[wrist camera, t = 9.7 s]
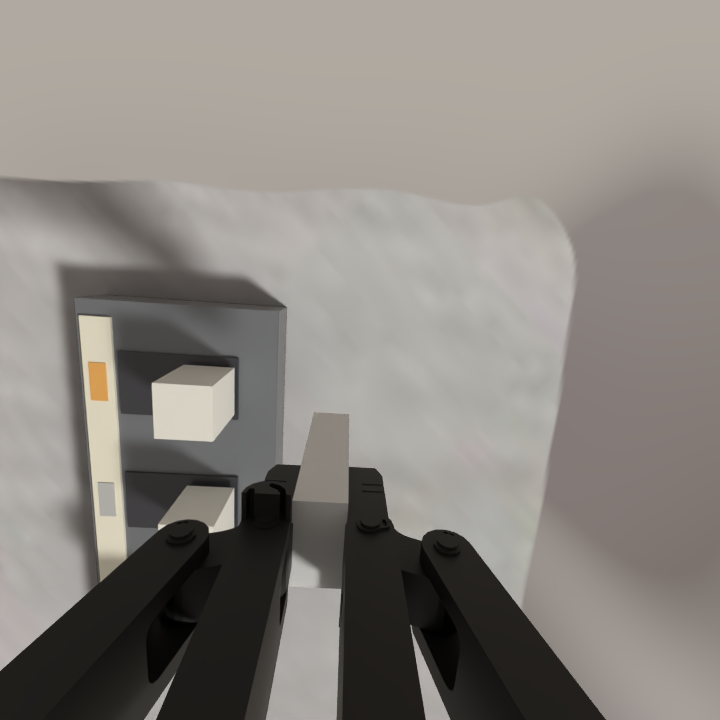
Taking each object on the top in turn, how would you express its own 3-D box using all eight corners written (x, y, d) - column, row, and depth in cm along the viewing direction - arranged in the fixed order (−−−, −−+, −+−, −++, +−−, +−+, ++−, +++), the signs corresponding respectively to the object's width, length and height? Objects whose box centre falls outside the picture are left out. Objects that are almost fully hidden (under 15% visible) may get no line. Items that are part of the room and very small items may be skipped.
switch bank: (277, 626, 32) (269, 665, 29) (126, 621, 32) (101, 660, 29) (286, 307, 27) (278, 311, 24) (104, 294, 26) (70, 298, 23)
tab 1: (234, 414, 24) (213, 441, 21) (185, 411, 24) (154, 438, 20) (234, 367, 24) (212, 386, 20) (183, 364, 24) (151, 382, 20)
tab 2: (234, 528, 26) (214, 573, 22) (187, 526, 26) (159, 571, 22) (234, 487, 26) (213, 526, 22) (187, 485, 25) (157, 524, 21)
